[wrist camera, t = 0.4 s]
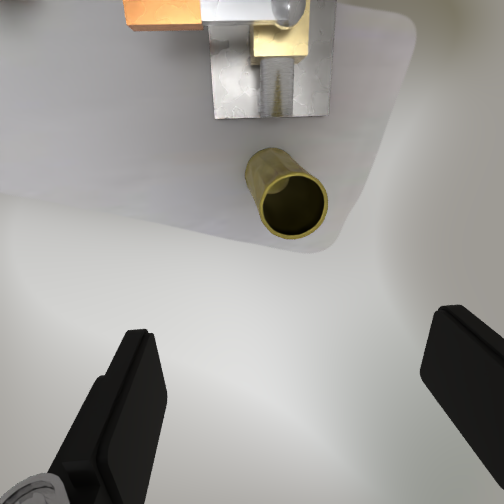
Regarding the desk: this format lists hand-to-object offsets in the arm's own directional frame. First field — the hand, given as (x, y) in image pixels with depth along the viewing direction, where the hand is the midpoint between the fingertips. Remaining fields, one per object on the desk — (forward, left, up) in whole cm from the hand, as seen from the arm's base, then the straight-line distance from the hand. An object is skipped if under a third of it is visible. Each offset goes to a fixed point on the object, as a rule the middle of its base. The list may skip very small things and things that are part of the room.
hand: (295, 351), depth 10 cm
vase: (-1, +3, -28) cm, 28 cm away
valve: (-14, +3, -28) cm, 31 cm away
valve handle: (-14, -2, -19) cm, 24 cm away
